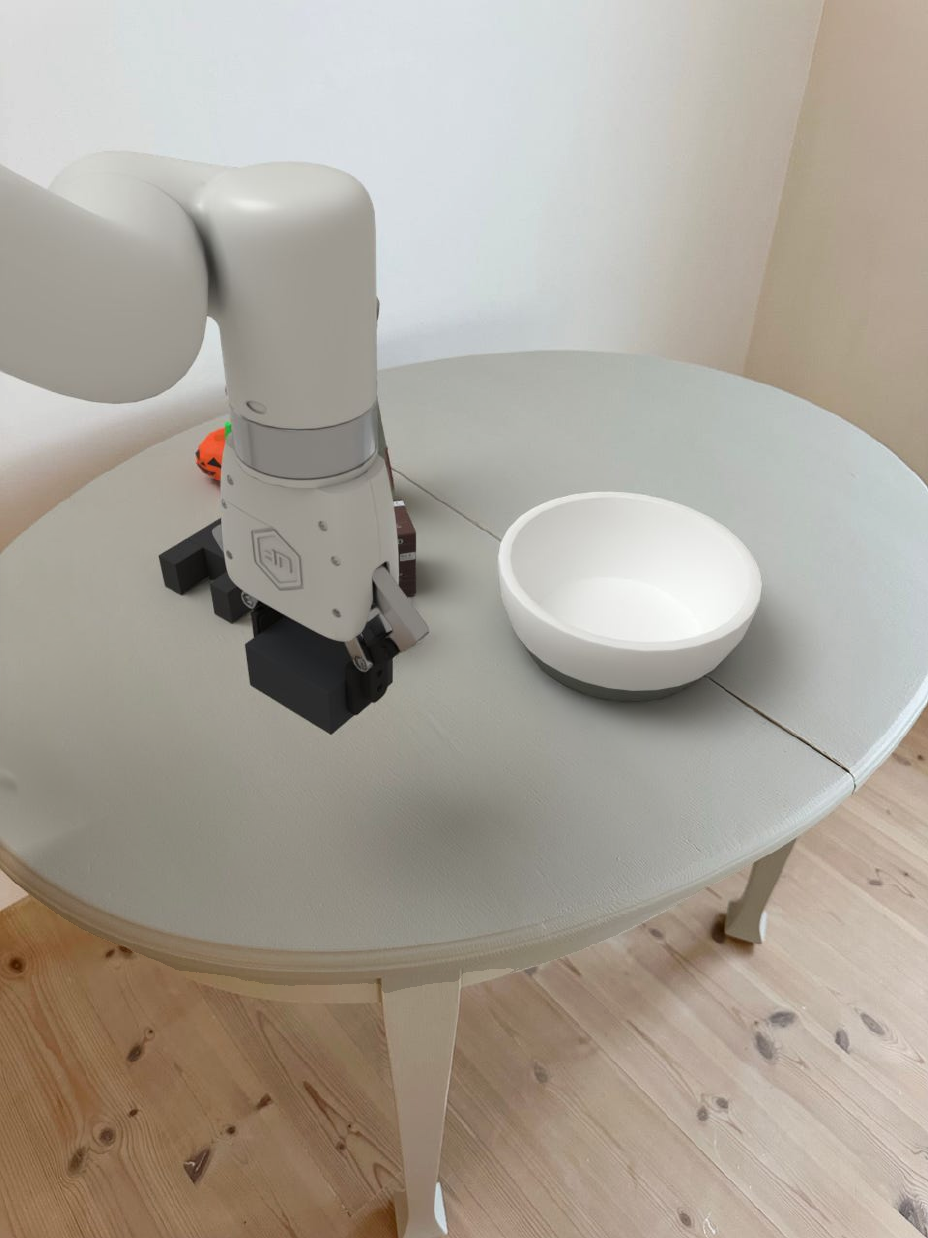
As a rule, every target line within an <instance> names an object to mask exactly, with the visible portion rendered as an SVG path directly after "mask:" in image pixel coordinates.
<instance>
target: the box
mask: <svg viewBox="0 0 928 1238" xmlns="http://www.w3.org/2000/svg"><path fill="white" fill-rule="evenodd" d="M393 505H394V511H395V519H396V528H397V540H398V554H399V587H400V588H401V589H402V591H403V592H404V594H405V595H406V596H407V597H409V596H411V597H412V596H414V595H416V594H417V531H416V529H415V526H414V523H413V521H412V519H411V517H410V514H409V511H408V510H407V509H408V508H407V507H406V504H405V502H404V500H403V498H395V499H394V500H393Z"/></svg>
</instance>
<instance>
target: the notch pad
mask: <svg viewBox="0 0 928 1238" xmlns="http://www.w3.org/2000/svg"><path fill="white" fill-rule="evenodd" d="M220 524H221V517H220V518H217V520H214V521H213V522H210V524H208V525H206V526H204V527H203V528H202V529H200V530H198V531H196V532H195V533H193V534H191V535H190V536H188V537H186V538H184V539H183V540H181V541H180V542H178V543H177V544H175V545H173V546H171V547H170V548H168V549H167V550H165V551H163V552H162V553H160V554H159V555H158V560H159V566H160V570H161V575H162V579H163V584H164V586H165V587H166V588H168V589H170V590H172V591H174V592H175V593H177V594H179V595H181V596H182V595H184V594H185V593H187V592H188V591H190V590H191V589H193V588H194V587H195V586H197V585H199V584H200V583H202V582H203V581H205V580H207V579H208V578H209V579H211V581H210V582H209V583H208V584H209V589H210V593H211V594H210V595H211V601H212V607H213V612H214V614H215V616H218V617H220V618H222V619H223V620H225V621H227V622H229V623H230V624H235V623H236V622H237V621H238V620H240V619H241V618H243V617H244V616H246V615H247V614H248V613H249V612H250V613H251V612H252V611H253V609H251V608H249V607H247V606H246V605H245V603H244V602H243V600H242V597H241V594H242V592H243V590H242V589H240V588H239V587H238V586H237V585H236V584H235V583H234V582H233V581H232V580H231V579H230V577H229V575H228V572H227V568H226V563H225V556H224V553H223V551H222V549H221V548H220V546H219V545H218V543H217V541H216V540H215V538H214V536H213V534H212V530H213V528H215V527H217V526H219V525H220Z"/></svg>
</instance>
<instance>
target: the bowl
mask: <svg viewBox="0 0 928 1238" xmlns="http://www.w3.org/2000/svg"><path fill="white" fill-rule="evenodd" d="M497 575H498V577H497V578H498V587H499V593H500V598H501V602H502V604H503V606H504V609H505V611H506V614H507V617H508V619H509V622H510V624H511V626H512V628H513V630H514V632H515V635H516V637H518V639H519V640H520V642H521V643H522V644H523V645H524V647H525V649H526V650H527V652H528V653H529V655H530V657H531V658H532V659H533V660H534V661H535V663H536V664H537V665H538V666H539V667H540V669H542V670H543V671H544V672H545V673H546V674H547V675H549V676H550V677H551V678H552V679H554V680H556V681H558V682H560V684H562V685H564V686H566V687H568V688H569V689H572V690H575V691H577V692H580V693H582V694H585V695H586V696H587V695H588V696H591V697H596V698H600V699H602V700H603V699H604V700H608V701H609V700H610V701H618V702H646V701H651V700H658V699H662V698H663V699H664V698H666V697H669V696H672V695H674V694H676V693H679V692H681V691H683V690H684V689H686V688H687V687H689V686H690V685H692V684H693V683H695V682H696V681H697V680H700V679H701V678H702V677H704V676H706V675H707V674H708V673H710V672H712V671H714V670H715V669H716V668H717V667H718V665H720V664H721V663H722V662H723V661H724V660H725V659H726V657H727V656H728V655H730V653H731V652H732V651H733V650H734V649H735V648H736V647H737V645H739V643H740V642H742V640H743V639H744V637H745V635H746V633H747V631H748V629H749V627H750V625H751V624H752V622H753V619H754V617H755V615H756V612H757V611H758V608H759V606H760V604H761V600H762V595H763V594H762V593H763V586H764V585H763V581H762V576H761V569H760V567H759V566H758V564H757V562H756V559H755V558H754V556H753V553H752V552H751V551H750V550H749V549H748V547H747V545H745V544H744V542H743V541H742V540H741V538H739V537H738V536H736V535H735V534H734V533H733V532H732V531H731V530H729V529H728V528H727V527H726V526H724V525H723V524H721V523H720V522H718V521H716V519H713V518H712V517H710V516H708V515H707V514H705V513H702V512H700V511H698V510H696V509H693V508H691V507H689V506H687V505H684V504H681V503H678V502H675V501H672V500H668V499H666V498H661V497H658V496H653V495H648V494H642V493H634V492H626V491H625V492H623V491H590V492H581V493H574V494H573V493H572V494H569V495H565V496H562V497H557V498H554V499H549V500H548V501H545V502H544V503H543V502H542V503H541V504H539V505H536V506H534V507H533V508H531V509H529V510H527V511H526V512H524V514H522V515H520V516H519V517H518V518H517V519H516V520H515V521H514V522H513V523H512V524H511V525H510V526H509V528H508V529H507V530H506V531H505V533H504V535H503V537H502V539H501V540H500V543H499V548H498V554H497Z"/></svg>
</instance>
